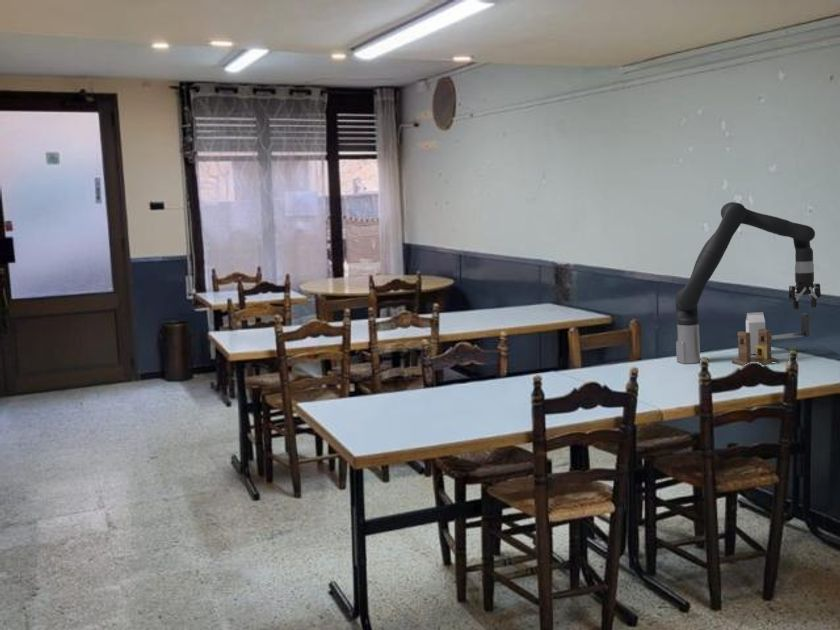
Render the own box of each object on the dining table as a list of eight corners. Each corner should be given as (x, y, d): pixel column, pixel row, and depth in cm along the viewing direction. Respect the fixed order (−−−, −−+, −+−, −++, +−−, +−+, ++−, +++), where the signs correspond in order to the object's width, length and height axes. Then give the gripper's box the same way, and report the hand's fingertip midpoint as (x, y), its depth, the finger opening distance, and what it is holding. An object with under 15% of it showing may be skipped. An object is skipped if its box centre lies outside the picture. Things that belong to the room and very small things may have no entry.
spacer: (764, 359, 363) (763, 346, 362) (755, 357, 369) (755, 344, 368) (767, 359, 363) (766, 345, 363) (758, 357, 369) (758, 343, 368)
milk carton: (766, 354, 382) (765, 313, 379) (749, 355, 383) (748, 314, 381) (762, 351, 389) (761, 311, 386) (746, 352, 390) (745, 312, 388)
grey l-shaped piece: (767, 341, 364) (767, 318, 363) (763, 340, 367) (762, 318, 366) (809, 336, 369) (808, 313, 367) (804, 335, 371) (804, 313, 370)
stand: (745, 366, 359) (744, 334, 357) (732, 363, 369) (730, 331, 367) (778, 362, 362) (777, 330, 361) (764, 359, 372) (763, 327, 370)
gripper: (795, 273, 361) (796, 310, 363) (824, 270, 364) (824, 307, 366) (784, 272, 368) (785, 309, 370) (812, 269, 371) (813, 306, 373)
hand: (804, 308), depth 368 cm, fingers open, 8 cm apart
